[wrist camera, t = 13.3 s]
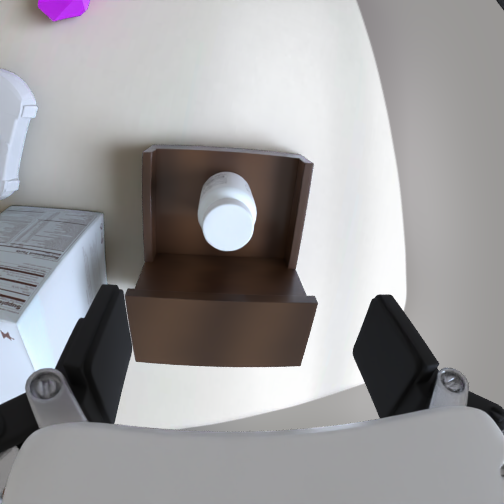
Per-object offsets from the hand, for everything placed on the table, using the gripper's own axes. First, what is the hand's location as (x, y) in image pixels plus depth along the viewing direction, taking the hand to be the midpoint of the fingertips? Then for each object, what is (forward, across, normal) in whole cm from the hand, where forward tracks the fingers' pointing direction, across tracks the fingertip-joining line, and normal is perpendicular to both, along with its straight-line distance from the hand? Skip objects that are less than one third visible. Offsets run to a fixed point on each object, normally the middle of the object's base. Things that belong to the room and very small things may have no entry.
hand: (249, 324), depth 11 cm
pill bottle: (+18, +1, +1) cm, 19 cm away
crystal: (+21, +18, -19) cm, 33 cm away
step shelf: (+21, +1, +5) cm, 21 cm away
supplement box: (+21, +20, +12) cm, 31 cm away
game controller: (+21, +26, -5) cm, 33 cm away
